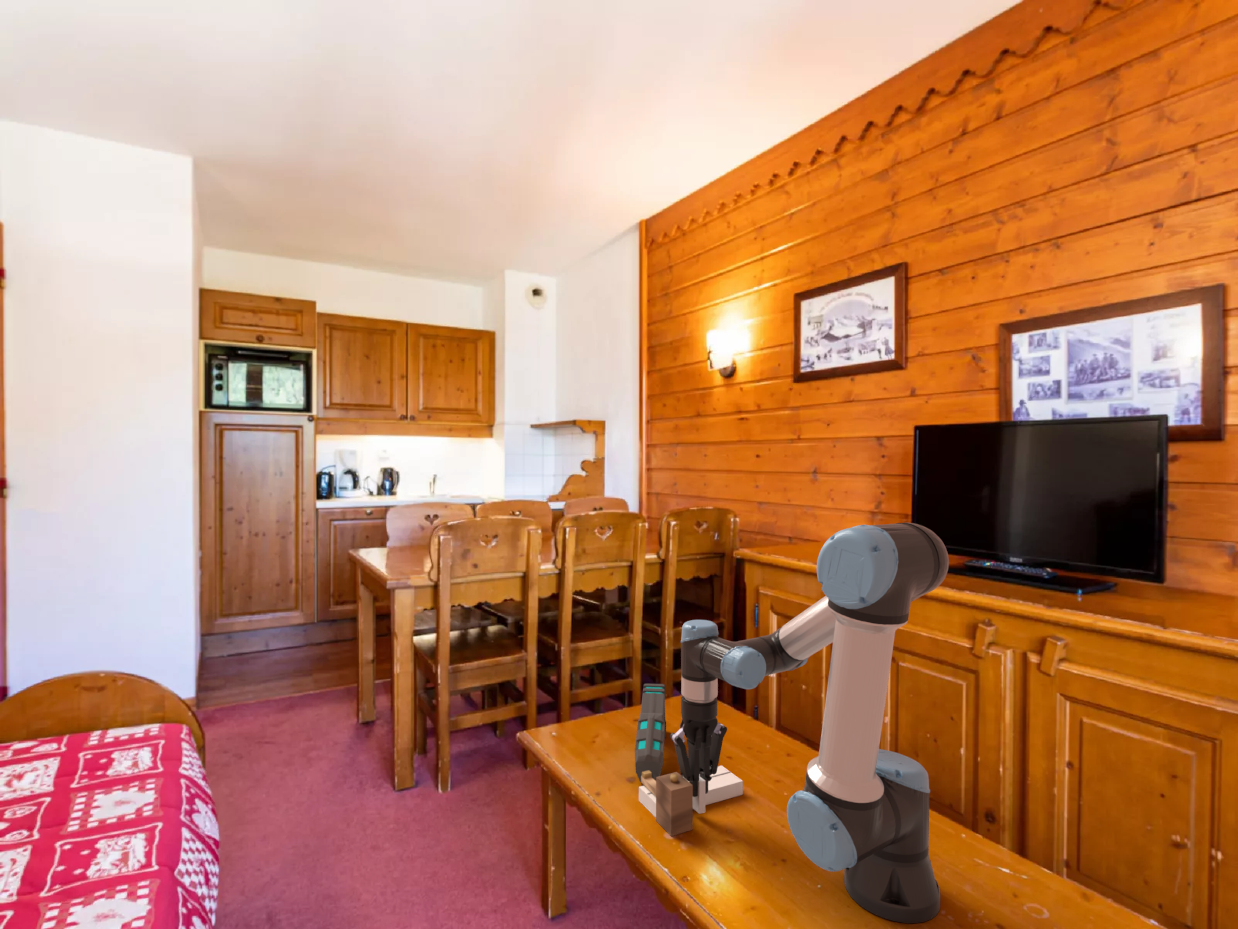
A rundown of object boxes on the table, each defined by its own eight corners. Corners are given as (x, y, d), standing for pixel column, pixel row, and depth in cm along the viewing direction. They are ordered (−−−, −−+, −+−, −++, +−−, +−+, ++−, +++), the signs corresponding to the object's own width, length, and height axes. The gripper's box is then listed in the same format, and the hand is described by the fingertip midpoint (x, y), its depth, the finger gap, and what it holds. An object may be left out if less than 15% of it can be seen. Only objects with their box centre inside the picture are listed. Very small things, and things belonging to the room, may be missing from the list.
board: (742, 794, 140) (742, 780, 140) (657, 819, 130) (657, 804, 130) (721, 778, 147) (721, 765, 147) (638, 800, 137) (638, 786, 137)
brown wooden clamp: (692, 829, 126) (692, 780, 126) (671, 836, 124) (671, 785, 124) (654, 793, 140) (654, 748, 140) (634, 798, 138) (634, 753, 138)
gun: (667, 723, 174) (666, 677, 170) (663, 811, 147) (662, 760, 142) (643, 722, 175) (642, 676, 170) (635, 810, 147) (633, 758, 143)
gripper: (714, 685, 137) (714, 794, 137) (662, 695, 131) (662, 808, 131) (735, 697, 130) (735, 811, 130) (682, 708, 124) (681, 827, 125)
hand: (698, 809), depth 131 cm, fingers closed
